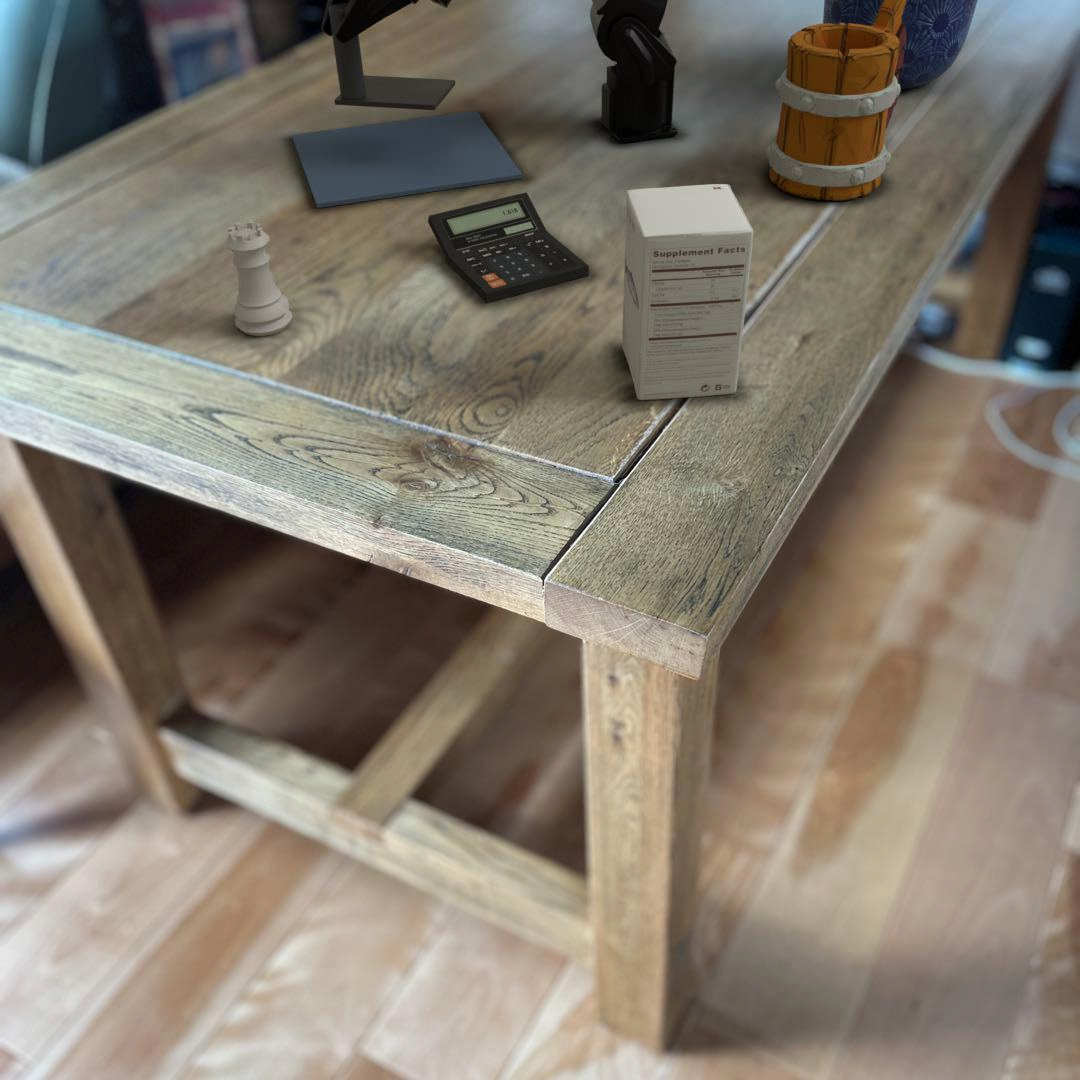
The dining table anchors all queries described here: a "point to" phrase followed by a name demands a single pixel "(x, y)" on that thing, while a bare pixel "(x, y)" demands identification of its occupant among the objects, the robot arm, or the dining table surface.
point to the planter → (916, 32)
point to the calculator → (504, 248)
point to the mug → (838, 106)
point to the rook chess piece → (256, 283)
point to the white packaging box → (685, 290)
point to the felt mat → (402, 158)
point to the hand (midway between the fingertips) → (332, 36)
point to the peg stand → (379, 79)
